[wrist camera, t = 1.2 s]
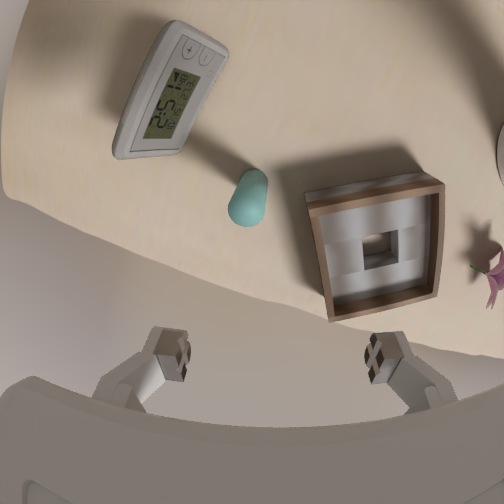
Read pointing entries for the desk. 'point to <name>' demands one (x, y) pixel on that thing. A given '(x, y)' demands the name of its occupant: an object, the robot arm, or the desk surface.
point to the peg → (249, 199)
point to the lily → (495, 279)
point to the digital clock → (168, 92)
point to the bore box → (374, 222)
